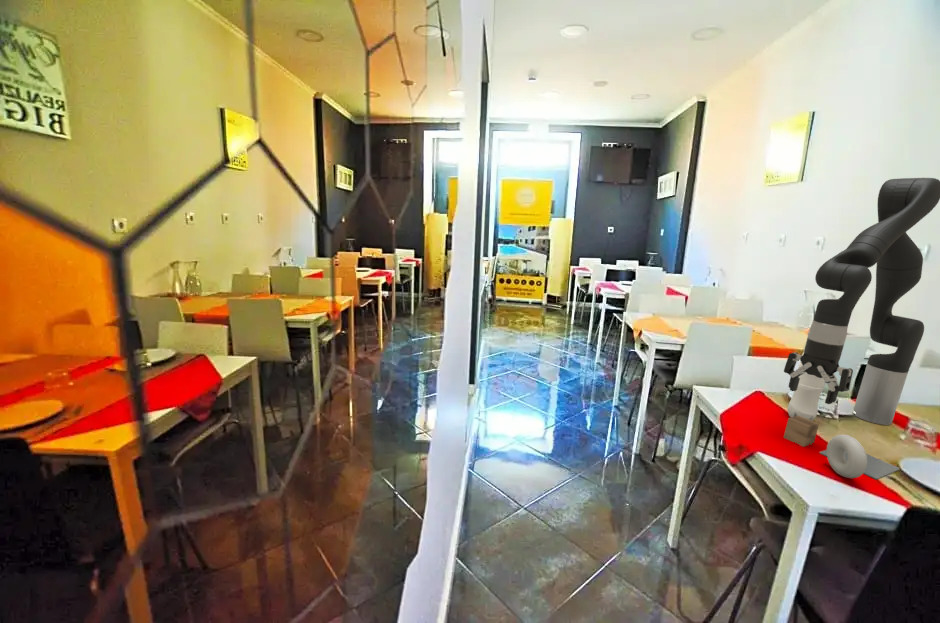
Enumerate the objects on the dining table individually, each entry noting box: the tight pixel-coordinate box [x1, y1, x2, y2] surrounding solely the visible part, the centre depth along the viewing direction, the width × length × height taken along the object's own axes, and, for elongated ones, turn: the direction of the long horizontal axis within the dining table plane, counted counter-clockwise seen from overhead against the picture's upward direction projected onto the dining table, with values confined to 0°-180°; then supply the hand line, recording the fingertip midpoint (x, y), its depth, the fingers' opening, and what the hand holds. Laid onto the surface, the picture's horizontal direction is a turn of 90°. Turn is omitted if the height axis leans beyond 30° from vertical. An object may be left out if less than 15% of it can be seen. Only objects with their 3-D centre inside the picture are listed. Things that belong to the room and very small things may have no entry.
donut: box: [826, 434, 867, 479], centre depth 101 cm, size 10×4×10 cm, turn 174°
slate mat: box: [819, 449, 901, 480], centre depth 109 cm, size 12×12×1 cm
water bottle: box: [787, 361, 826, 422], centre depth 129 cm, size 7×7×25 cm
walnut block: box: [783, 416, 820, 448], centre depth 117 cm, size 5×5×6 cm
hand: (810, 396), depth 115 cm, fingers open, 8 cm apart
